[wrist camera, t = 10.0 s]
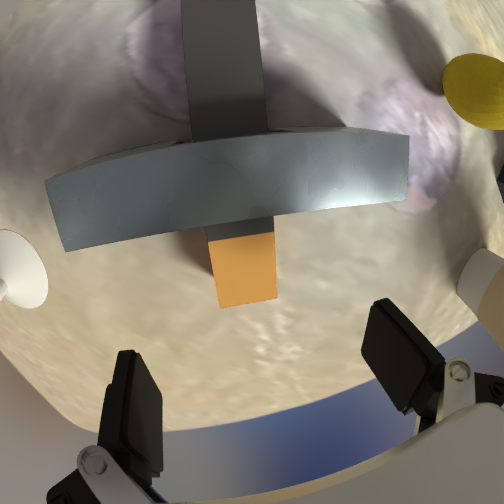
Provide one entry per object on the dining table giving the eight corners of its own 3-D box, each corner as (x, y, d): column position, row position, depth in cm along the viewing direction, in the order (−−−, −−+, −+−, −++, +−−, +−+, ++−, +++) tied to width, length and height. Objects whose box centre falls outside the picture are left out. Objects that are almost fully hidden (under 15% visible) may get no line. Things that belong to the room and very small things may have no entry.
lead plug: (182, 11, 10) (180, -14, 7) (241, 6, 10) (252, -18, 7) (215, 277, 17) (220, 308, 15) (264, 269, 18) (277, 298, 15)
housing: (93, 159, 13) (44, 181, 8) (347, 126, 14) (409, 135, 10) (104, 209, 14) (65, 252, 9) (348, 173, 16) (405, 200, 11)
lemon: (418, 46, 12) (506, 41, 5) (461, 66, 13) (536, 73, 6) (422, 114, 15) (514, 132, 8) (463, 126, 15) (539, 147, 8)
